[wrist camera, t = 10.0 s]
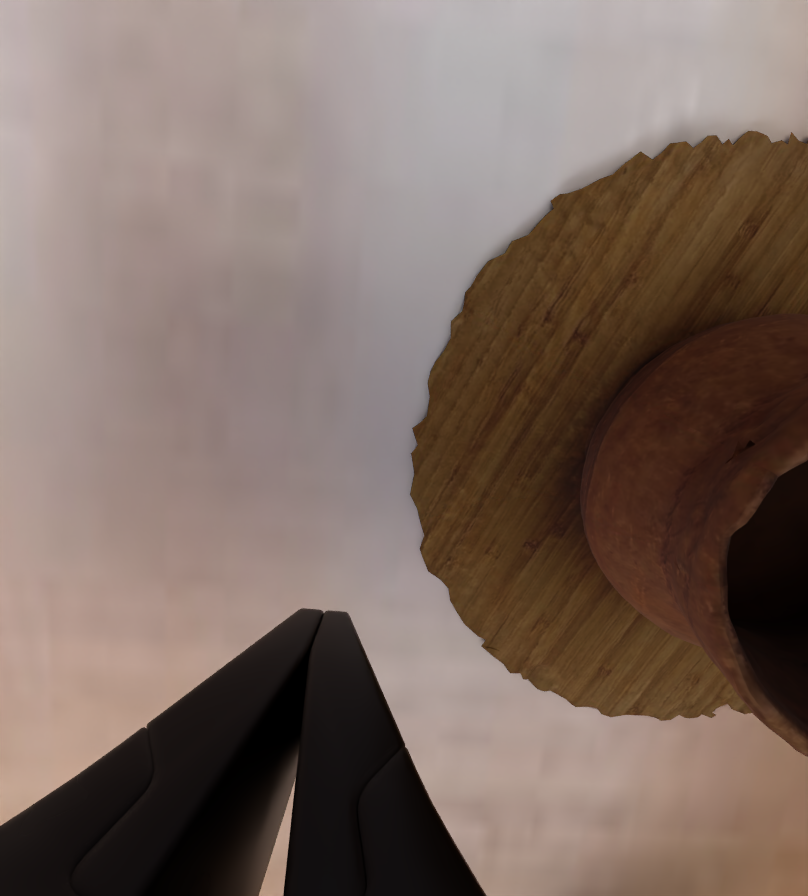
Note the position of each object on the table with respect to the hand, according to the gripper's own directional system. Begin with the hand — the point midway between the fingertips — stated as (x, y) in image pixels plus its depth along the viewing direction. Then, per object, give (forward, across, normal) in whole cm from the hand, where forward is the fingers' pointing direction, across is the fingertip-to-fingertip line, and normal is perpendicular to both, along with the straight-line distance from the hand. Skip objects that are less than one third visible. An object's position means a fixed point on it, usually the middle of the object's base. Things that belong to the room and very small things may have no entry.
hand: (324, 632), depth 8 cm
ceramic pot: (+6, -10, -2) cm, 12 cm away
